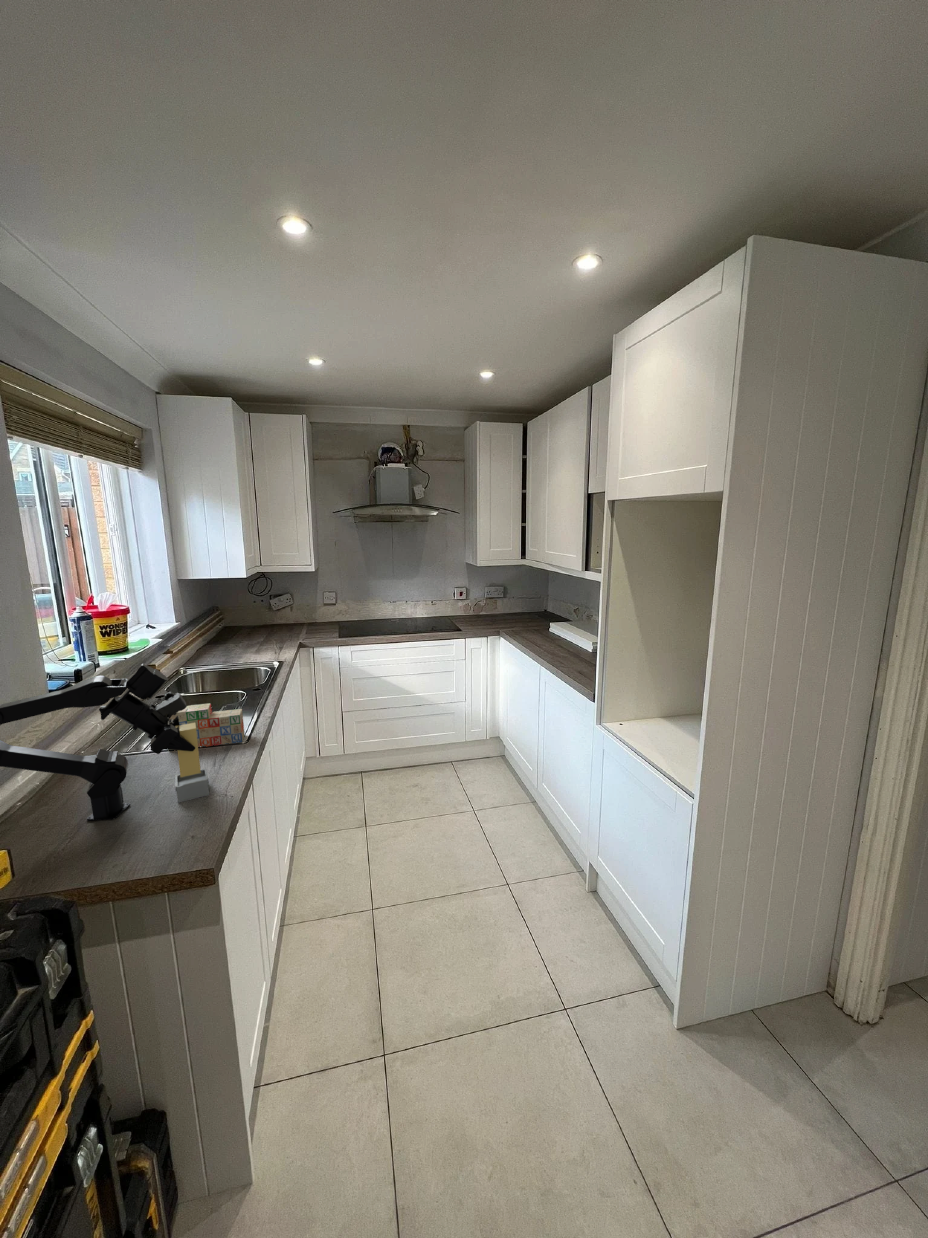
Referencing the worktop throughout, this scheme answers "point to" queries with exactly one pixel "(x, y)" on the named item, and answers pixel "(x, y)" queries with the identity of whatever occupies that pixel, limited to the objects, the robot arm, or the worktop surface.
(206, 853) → the worktop surface
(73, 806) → the worktop surface
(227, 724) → the stack of blocks
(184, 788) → the base tray
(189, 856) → the worktop surface
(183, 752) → the mustard brick
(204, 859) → the worktop surface
